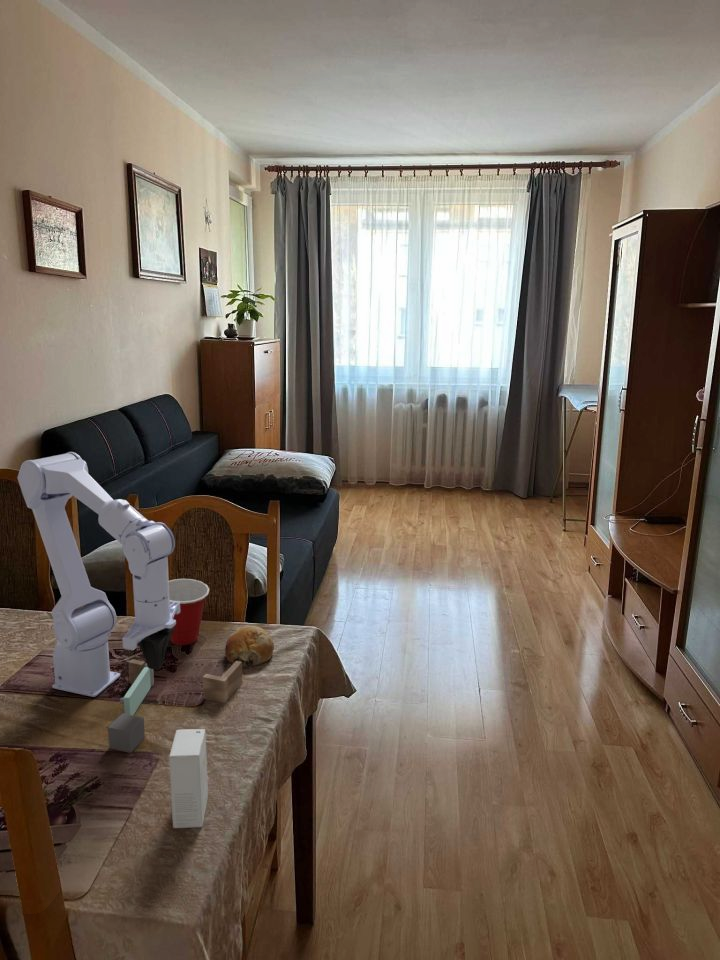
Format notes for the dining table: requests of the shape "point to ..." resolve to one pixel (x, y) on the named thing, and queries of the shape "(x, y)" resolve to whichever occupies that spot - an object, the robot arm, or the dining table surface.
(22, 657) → the dining table surface
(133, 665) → the wooden blocks
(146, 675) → the door
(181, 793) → the skincare box
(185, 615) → the plastic cup
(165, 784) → the dining table surface
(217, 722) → the dining table surface
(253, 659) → the bread roll
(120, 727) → the gray cube block
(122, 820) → the dining table surface
